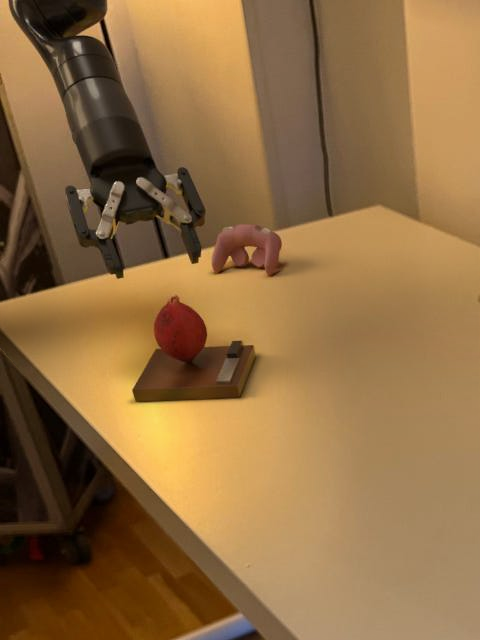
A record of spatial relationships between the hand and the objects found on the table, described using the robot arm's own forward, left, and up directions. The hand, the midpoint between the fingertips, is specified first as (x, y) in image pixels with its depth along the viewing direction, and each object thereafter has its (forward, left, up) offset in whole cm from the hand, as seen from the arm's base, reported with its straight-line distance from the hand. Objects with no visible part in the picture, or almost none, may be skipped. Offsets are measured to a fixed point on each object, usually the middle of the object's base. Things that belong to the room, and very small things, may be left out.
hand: (158, 267), depth 111 cm
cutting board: (+2, -3, -12) cm, 13 cm away
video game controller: (+2, +33, -12) cm, 35 cm away
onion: (+1, -2, -11) cm, 11 cm away
